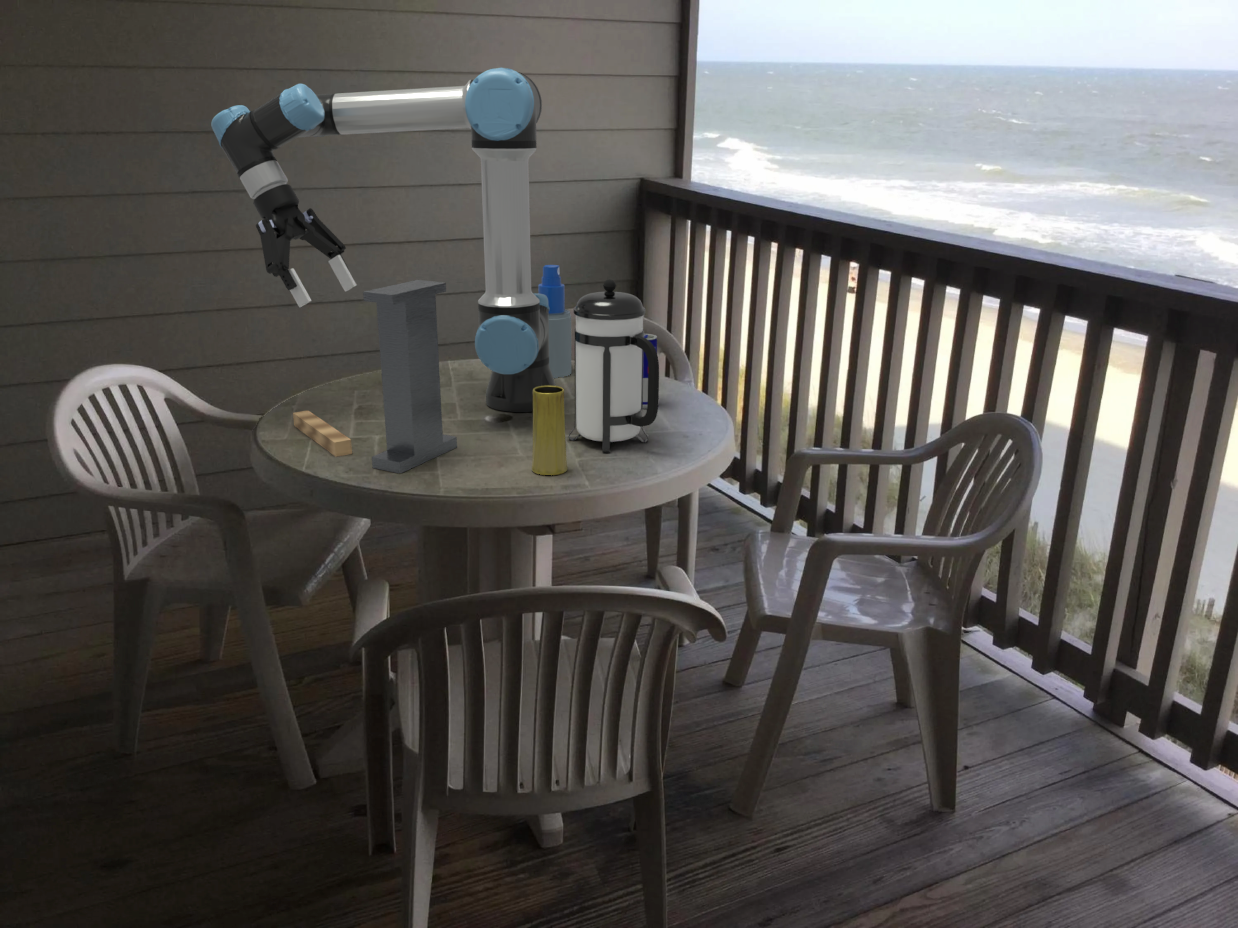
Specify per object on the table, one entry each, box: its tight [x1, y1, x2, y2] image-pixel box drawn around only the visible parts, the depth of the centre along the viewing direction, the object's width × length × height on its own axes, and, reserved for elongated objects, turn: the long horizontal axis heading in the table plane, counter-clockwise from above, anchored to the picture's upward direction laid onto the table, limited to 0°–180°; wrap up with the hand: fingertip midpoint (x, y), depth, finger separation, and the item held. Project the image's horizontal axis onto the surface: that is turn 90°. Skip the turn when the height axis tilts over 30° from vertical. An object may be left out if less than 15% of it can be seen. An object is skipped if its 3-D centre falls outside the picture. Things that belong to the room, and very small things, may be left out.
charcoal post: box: [362, 279, 458, 474], centre depth 170 cm, size 6×16×30 cm, turn 152°
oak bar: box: [292, 410, 353, 458], centre depth 184 cm, size 22×3×3 cm, turn 36°
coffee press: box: [568, 278, 660, 454], centre depth 180 cm, size 17×16×30 cm
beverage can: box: [641, 333, 658, 410], centre depth 205 cm, size 5×5×15 cm
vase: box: [531, 385, 568, 477], centre depth 167 cm, size 6×6×14 cm
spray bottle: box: [537, 264, 572, 379], centre depth 228 cm, size 9×9×25 cm
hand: (329, 296), depth 186 cm, fingers open, 13 cm apart
